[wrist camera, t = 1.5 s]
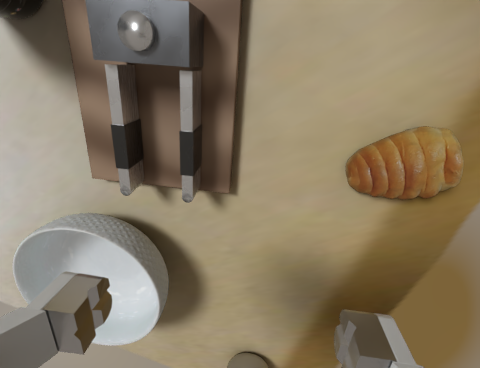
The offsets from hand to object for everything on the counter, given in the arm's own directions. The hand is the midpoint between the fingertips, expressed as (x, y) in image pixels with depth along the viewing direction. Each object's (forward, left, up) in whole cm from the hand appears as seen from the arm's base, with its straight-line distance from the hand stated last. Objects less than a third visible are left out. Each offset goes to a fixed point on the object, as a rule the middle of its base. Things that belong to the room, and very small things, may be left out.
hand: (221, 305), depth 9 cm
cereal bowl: (+16, -16, -20) cm, 31 cm away
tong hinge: (-9, -9, -18) cm, 22 cm away
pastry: (0, +15, -20) cm, 25 cm away
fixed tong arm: (-1, -12, -18) cm, 22 cm away
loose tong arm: (-1, -6, -18) cm, 19 cm away
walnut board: (-5, -10, -20) cm, 23 cm away
